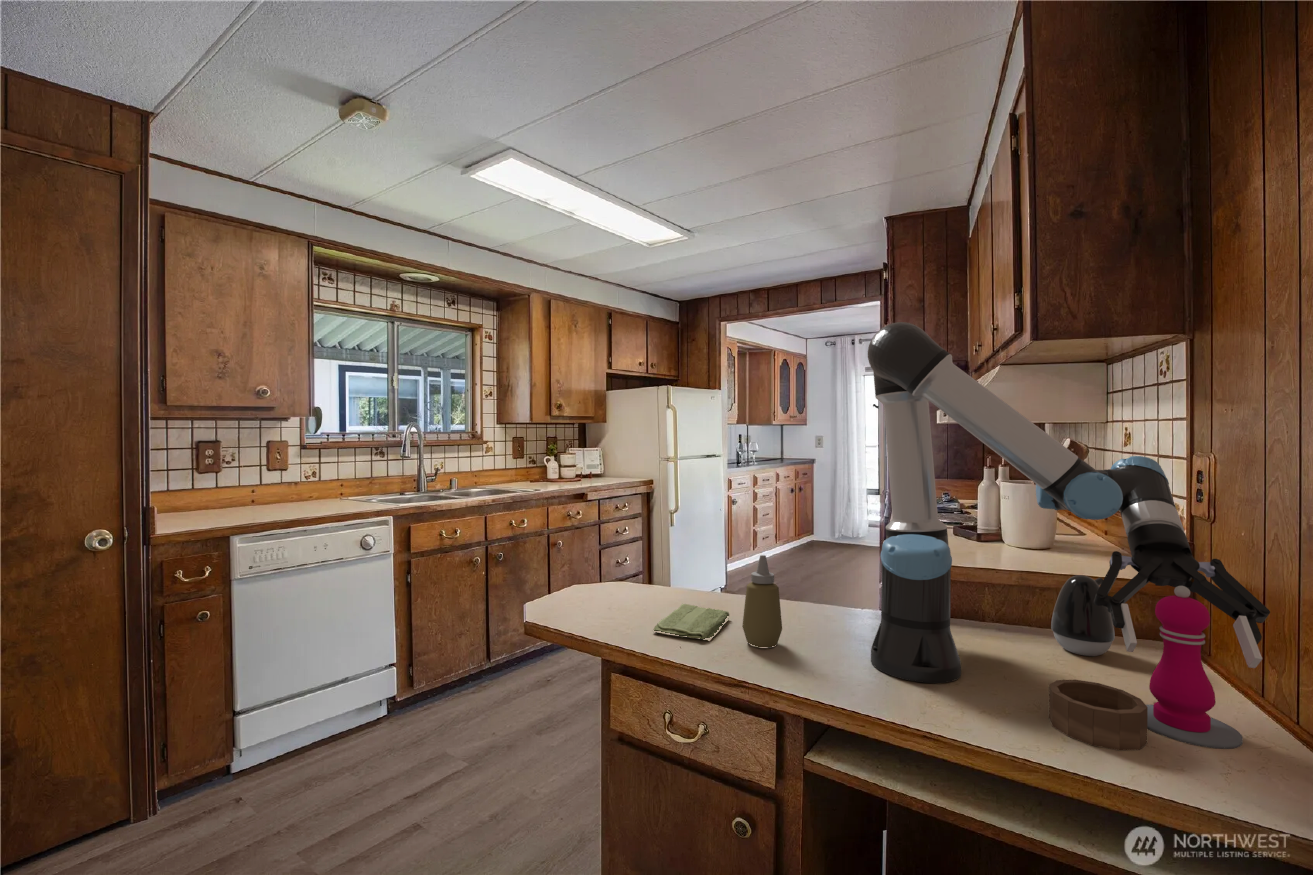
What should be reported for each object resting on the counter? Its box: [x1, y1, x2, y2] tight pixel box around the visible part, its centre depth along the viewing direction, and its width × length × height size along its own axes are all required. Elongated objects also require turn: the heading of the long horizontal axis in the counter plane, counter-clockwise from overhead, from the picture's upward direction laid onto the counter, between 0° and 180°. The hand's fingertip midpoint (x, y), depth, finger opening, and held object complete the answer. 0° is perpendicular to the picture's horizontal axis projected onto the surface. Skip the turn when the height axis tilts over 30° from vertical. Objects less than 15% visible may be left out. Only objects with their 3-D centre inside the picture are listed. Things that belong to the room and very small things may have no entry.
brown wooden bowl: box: [1048, 679, 1148, 751], centre depth 84 cm, size 11×11×5 cm
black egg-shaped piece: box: [1050, 574, 1115, 657], centre depth 116 cm, size 10×10×15 cm
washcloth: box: [652, 603, 730, 639], centre depth 129 cm, size 13×18×3 cm
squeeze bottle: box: [742, 554, 783, 647], centre depth 118 cm, size 8×8×18 cm
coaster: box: [1145, 704, 1244, 750], centre depth 85 cm, size 12×12×1 cm
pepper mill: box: [1148, 586, 1216, 733], centre depth 86 cm, size 7×7×20 cm
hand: (1191, 655), depth 83 cm, fingers open, 13 cm apart
